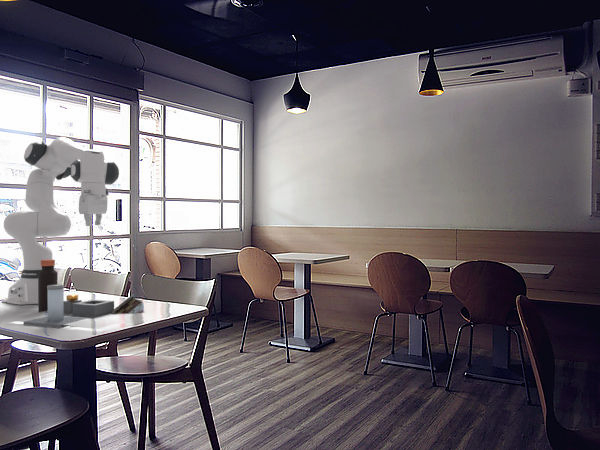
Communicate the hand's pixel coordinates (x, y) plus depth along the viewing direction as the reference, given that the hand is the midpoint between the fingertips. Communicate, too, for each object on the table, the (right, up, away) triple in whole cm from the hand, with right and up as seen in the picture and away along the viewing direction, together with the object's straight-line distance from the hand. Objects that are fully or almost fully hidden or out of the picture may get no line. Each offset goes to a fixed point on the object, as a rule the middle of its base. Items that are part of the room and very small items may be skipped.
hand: (93, 225), depth 202 cm
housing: (+1, -34, -10) cm, 35 cm away
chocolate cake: (+18, -34, -9) cm, 39 cm away
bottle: (-16, -34, -3) cm, 37 cm away
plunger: (-4, -32, -8) cm, 33 cm away
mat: (-3, -34, -25) cm, 42 cm away
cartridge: (-3, -33, -25) cm, 41 cm away
